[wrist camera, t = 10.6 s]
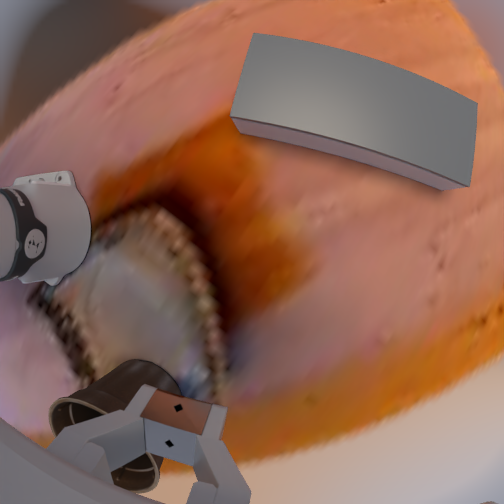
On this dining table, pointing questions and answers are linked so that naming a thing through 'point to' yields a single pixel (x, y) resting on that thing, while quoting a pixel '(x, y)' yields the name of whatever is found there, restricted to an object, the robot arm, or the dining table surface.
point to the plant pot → (110, 400)
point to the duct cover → (357, 104)
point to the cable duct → (345, 152)
